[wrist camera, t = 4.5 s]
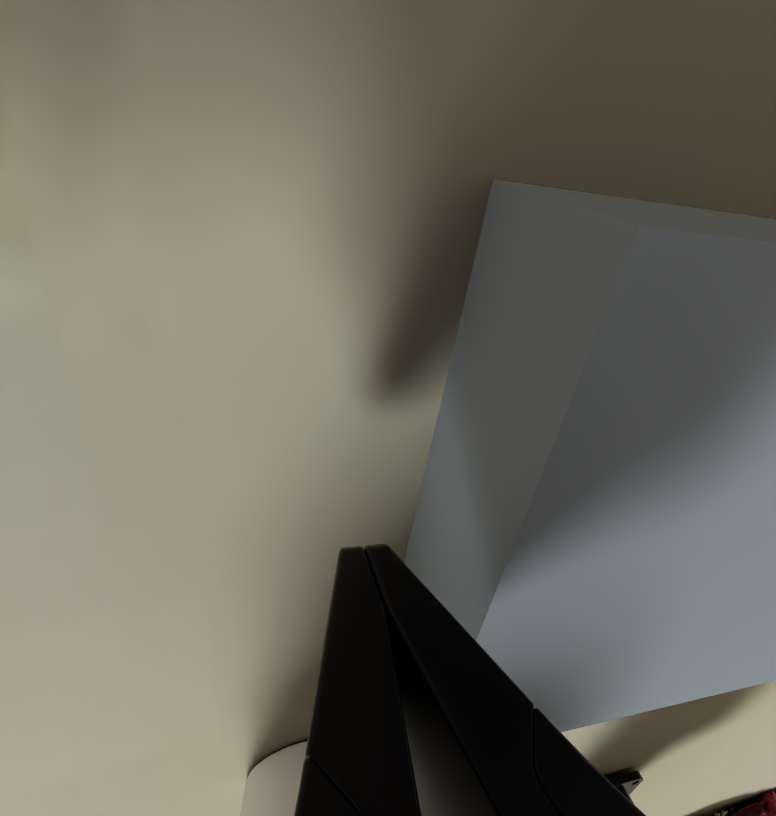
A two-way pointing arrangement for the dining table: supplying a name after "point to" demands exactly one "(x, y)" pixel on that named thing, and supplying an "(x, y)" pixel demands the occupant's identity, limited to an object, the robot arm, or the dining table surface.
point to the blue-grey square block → (609, 453)
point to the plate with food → (757, 807)
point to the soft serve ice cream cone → (275, 783)
